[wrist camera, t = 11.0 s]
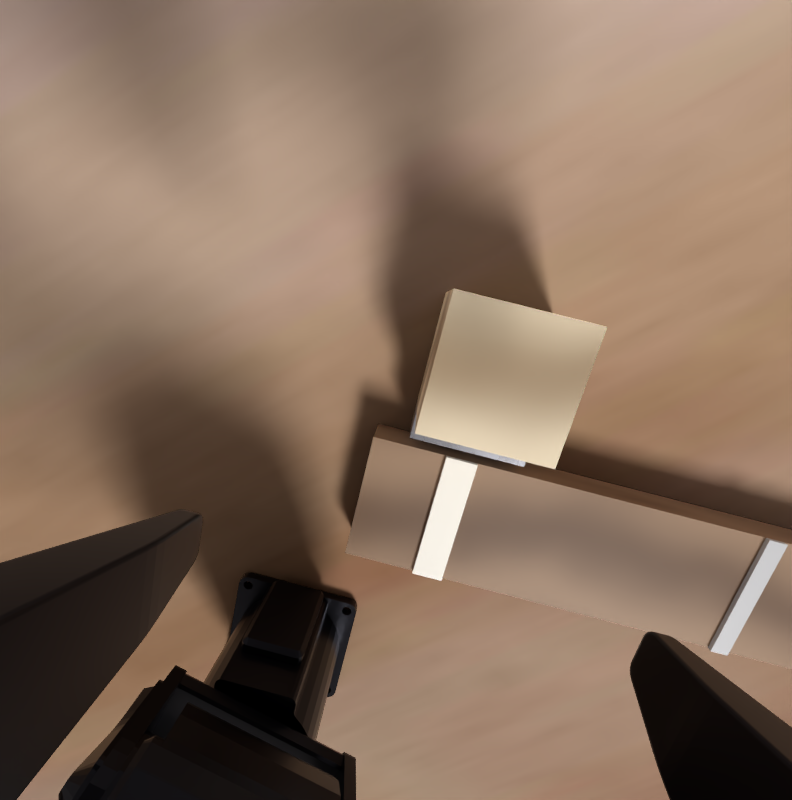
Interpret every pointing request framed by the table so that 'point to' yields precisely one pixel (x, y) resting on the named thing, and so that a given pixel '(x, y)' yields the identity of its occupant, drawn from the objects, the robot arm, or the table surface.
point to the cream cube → (504, 379)
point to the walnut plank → (578, 546)
